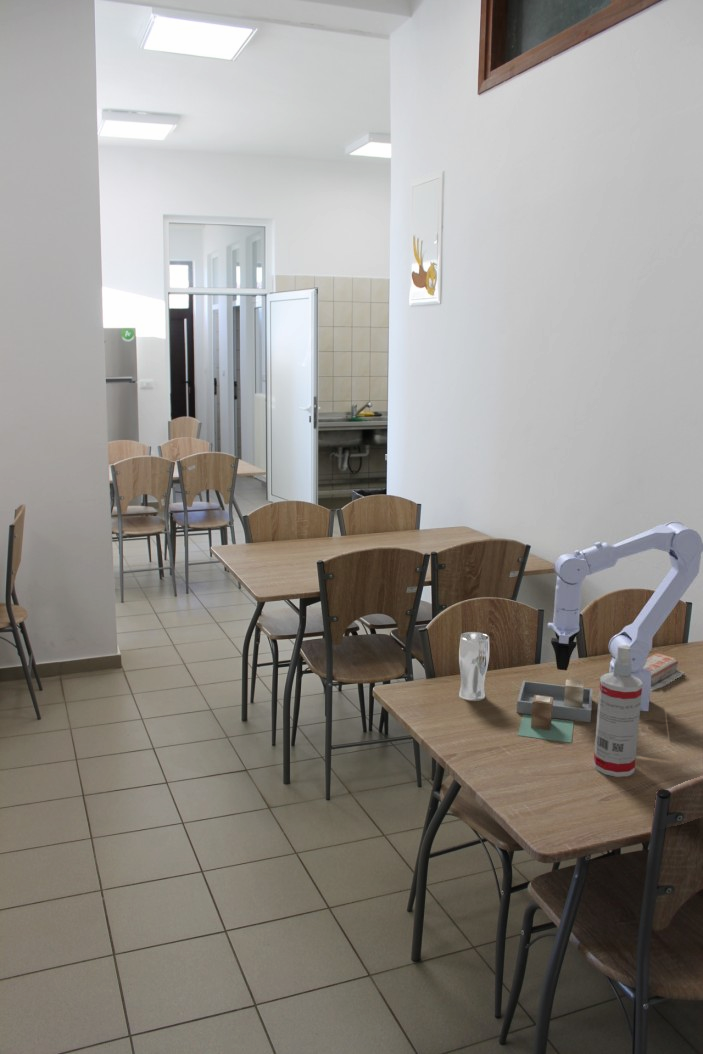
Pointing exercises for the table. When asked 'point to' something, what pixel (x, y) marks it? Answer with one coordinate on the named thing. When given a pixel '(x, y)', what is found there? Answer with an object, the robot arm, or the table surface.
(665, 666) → the packaged product
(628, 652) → the spray bottle
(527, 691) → the tray
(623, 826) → the table surface
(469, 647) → the beer glass
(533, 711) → the walnut block
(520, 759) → the table surface
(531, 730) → the mat
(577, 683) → the birch block
